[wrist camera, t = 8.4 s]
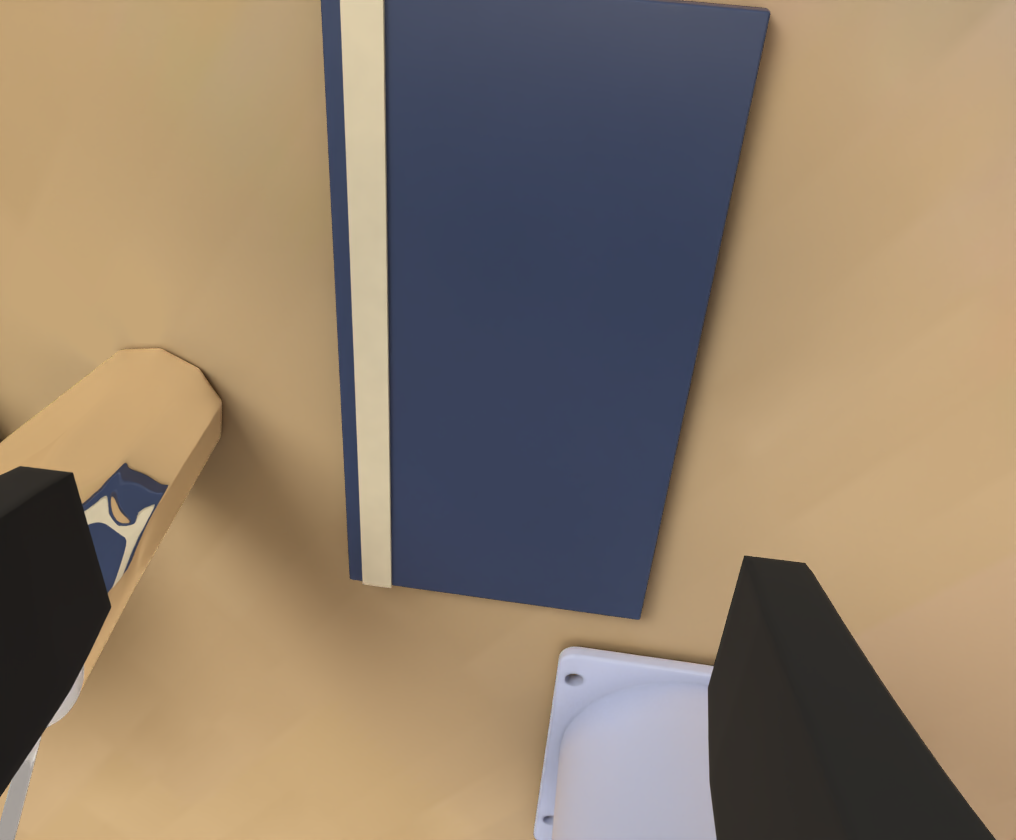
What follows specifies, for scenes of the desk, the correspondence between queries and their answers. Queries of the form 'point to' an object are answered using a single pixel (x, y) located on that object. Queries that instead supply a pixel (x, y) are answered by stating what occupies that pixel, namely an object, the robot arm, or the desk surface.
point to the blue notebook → (524, 279)
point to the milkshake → (119, 477)
